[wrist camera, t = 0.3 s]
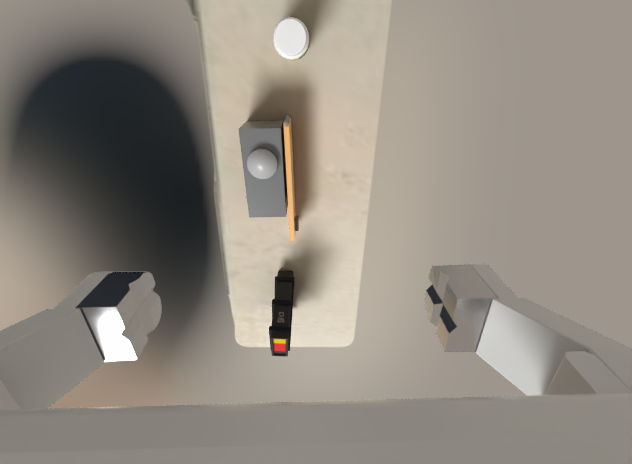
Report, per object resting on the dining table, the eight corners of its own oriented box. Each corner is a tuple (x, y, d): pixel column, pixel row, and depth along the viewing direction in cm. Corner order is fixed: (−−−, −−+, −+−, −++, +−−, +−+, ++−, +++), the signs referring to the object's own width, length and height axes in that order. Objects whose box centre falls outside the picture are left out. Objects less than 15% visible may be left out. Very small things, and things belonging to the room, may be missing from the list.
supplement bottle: (304, 64, 48) (303, 64, 41) (273, 54, 47) (267, 52, 40) (313, 28, 46) (314, 21, 38) (281, 17, 45) (275, 8, 38)
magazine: (295, 262, 63) (290, 338, 54) (293, 291, 73) (289, 359, 64) (276, 261, 62) (268, 337, 54) (277, 290, 73) (270, 358, 64)
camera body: (246, 121, 52) (237, 130, 45) (283, 120, 52) (280, 129, 45) (255, 201, 58) (248, 220, 51) (288, 200, 58) (285, 219, 51)
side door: (285, 115, 51) (283, 121, 46) (294, 114, 51) (293, 120, 46) (291, 225, 60) (290, 241, 55) (299, 225, 60) (298, 241, 55)
